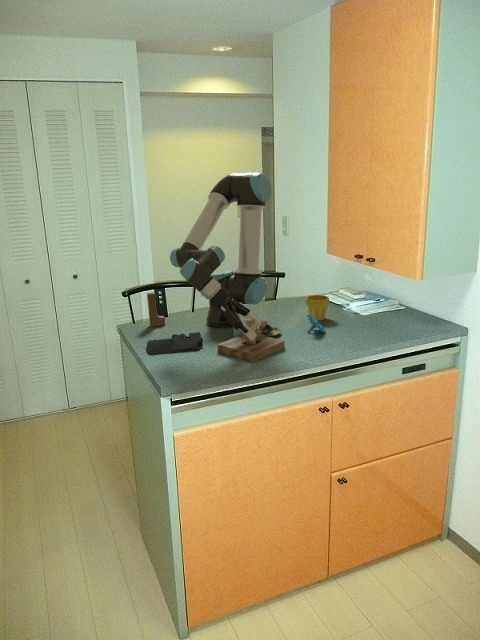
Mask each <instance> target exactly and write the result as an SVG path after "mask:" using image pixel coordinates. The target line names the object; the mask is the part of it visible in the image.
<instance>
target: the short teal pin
mask: <svg viewBox="0 0 480 640" xmlns="http://www.w3.org/2000/svg"><path fill="white" fill-rule="evenodd" d="M243 334H244V333H243V332H242V331H241V330H240V329H239V328H238V329H237V330H236V329H235V328H234V327H233V338H235V337H238V336H241V335H243Z"/></svg>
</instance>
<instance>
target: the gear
mask: <svg viewBox="0 0 480 640" xmlns="http://www.w3.org/2000/svg"><path fill="white" fill-rule="evenodd" d="M307 317H308V320H309V321H310V322H311V324H312V325H311V326H310V327H309V329H308V330H307V333H308V334H309V333H311V332H312V331H313V330H314V329H317V328H318V330H319V331H320V332H322V334H325V333H326V329H325V327H323V325H322V324H321V323H320V322H319V320H315V319H314V318H313V317H312V316H311V315H309V314H308V315H307Z"/></svg>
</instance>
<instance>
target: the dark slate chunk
mask: <svg viewBox="0 0 480 640" xmlns="http://www.w3.org/2000/svg"><path fill="white" fill-rule="evenodd" d="M188 334H189V335H188V336H187V335H186V334H184V333H180V334H175V333H174V334H172V335H171V338H170V337H169V338H161V339H150V340H148V341H147V343H146V350H147V353H148V354H149V356H160V355H171V354H173V355H174V354H180V353H189V352H191V353H192V352H199V351H201V350H203V349H204V347H203V342H204V339H203V337H202V335H201V332H200V331H197V332H189V333H188Z"/></svg>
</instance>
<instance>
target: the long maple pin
mask: <svg viewBox="0 0 480 640" xmlns="http://www.w3.org/2000/svg"><path fill="white" fill-rule="evenodd" d="M244 323H245V324H246V325H247V326H248V327H249V328H250V329H251V330H252V331H253V332H254V333H255V329H256V328H255V319H245V322H244ZM255 344H256V337H255V338H254V339H253V340H252V341H251V340H250V339H249V338H248V337H247V336H246V345H250V346H253V345H255Z"/></svg>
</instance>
